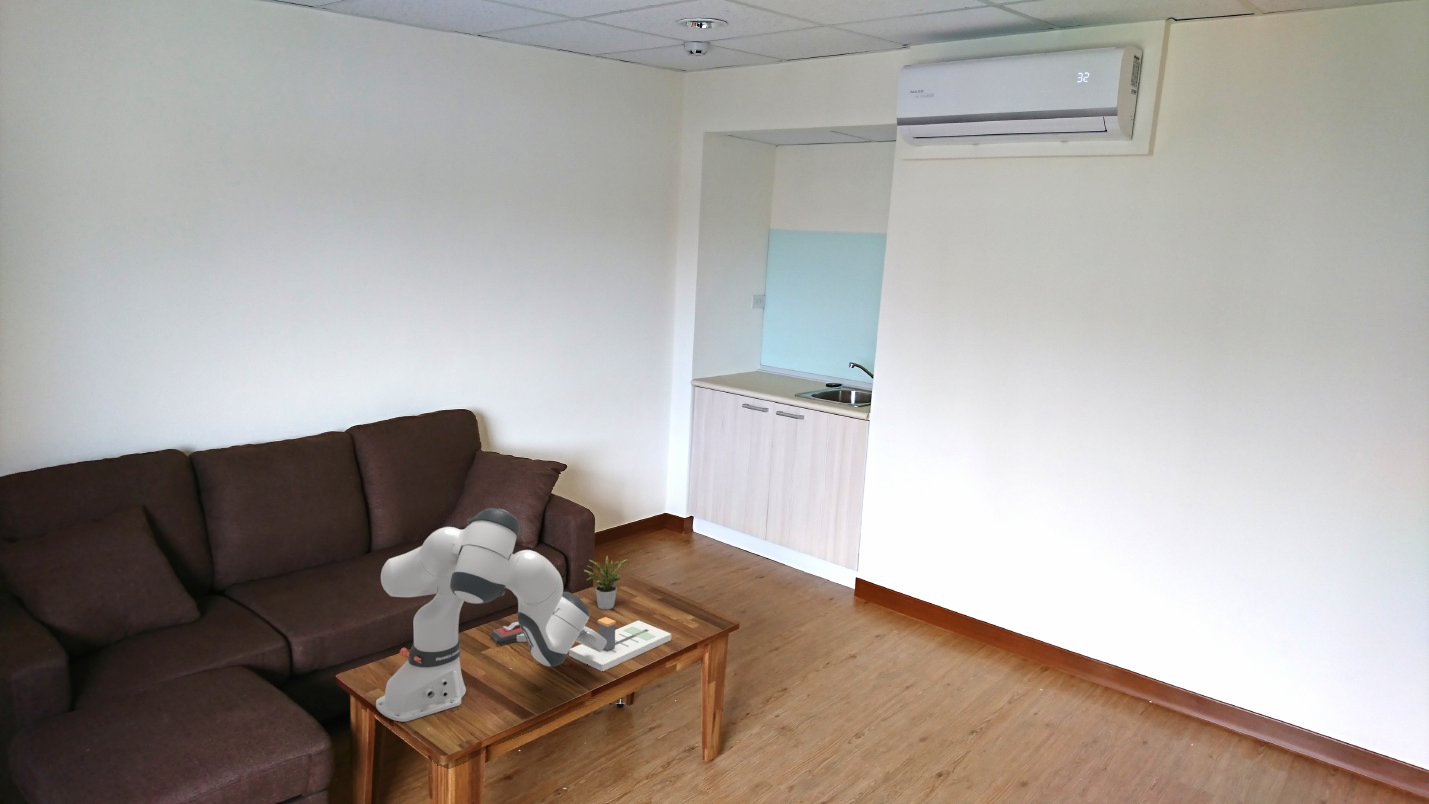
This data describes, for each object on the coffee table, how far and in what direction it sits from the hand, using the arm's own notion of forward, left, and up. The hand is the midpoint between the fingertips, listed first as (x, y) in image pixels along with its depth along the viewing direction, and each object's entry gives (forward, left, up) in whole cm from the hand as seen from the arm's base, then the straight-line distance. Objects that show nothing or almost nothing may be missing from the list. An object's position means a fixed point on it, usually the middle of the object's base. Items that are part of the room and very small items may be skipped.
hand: (590, 644), depth 257 cm
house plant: (+32, +26, -6) cm, 42 cm away
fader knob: (+7, 0, -3) cm, 7 cm away
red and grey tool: (-2, +27, -6) cm, 28 cm away
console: (+13, 0, -5) cm, 14 cm away
